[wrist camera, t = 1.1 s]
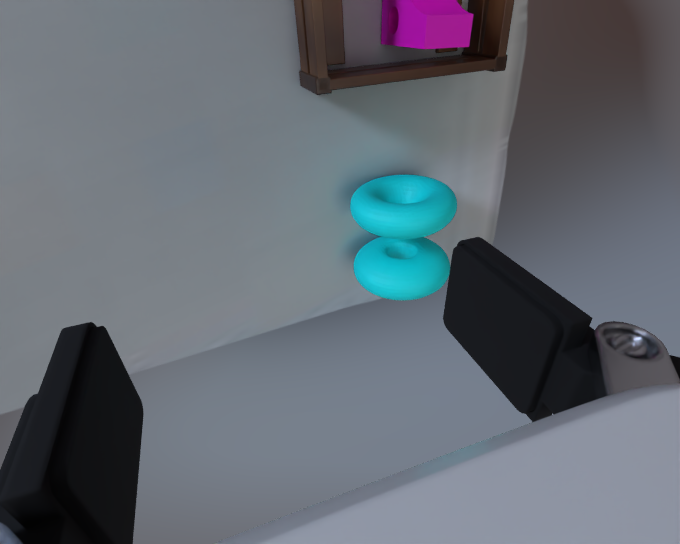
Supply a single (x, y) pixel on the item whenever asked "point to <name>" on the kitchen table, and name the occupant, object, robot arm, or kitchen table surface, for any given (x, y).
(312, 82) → the crate
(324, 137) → the kitchen table surface
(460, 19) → the magenta cradle bracket
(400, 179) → the donuts
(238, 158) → the kitchen table surface
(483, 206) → the kitchen table surface
